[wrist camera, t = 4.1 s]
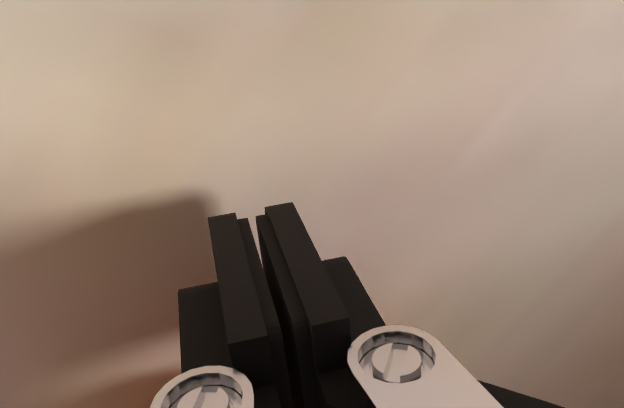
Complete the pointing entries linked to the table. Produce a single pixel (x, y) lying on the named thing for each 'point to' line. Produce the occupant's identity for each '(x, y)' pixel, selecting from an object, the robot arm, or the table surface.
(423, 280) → the table surface
